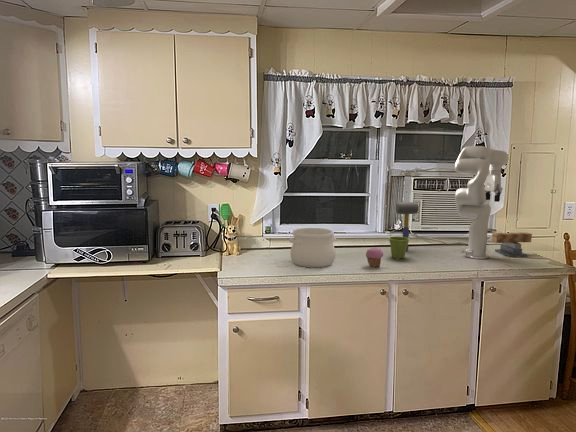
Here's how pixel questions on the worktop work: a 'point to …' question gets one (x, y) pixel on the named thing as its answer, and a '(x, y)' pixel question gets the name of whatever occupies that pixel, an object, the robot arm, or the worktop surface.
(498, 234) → the walnut rod
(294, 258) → the pot
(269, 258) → the worktop surface
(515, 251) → the fulcrum stand
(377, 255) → the cupcake
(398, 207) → the rubber mallet
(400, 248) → the plant pot
